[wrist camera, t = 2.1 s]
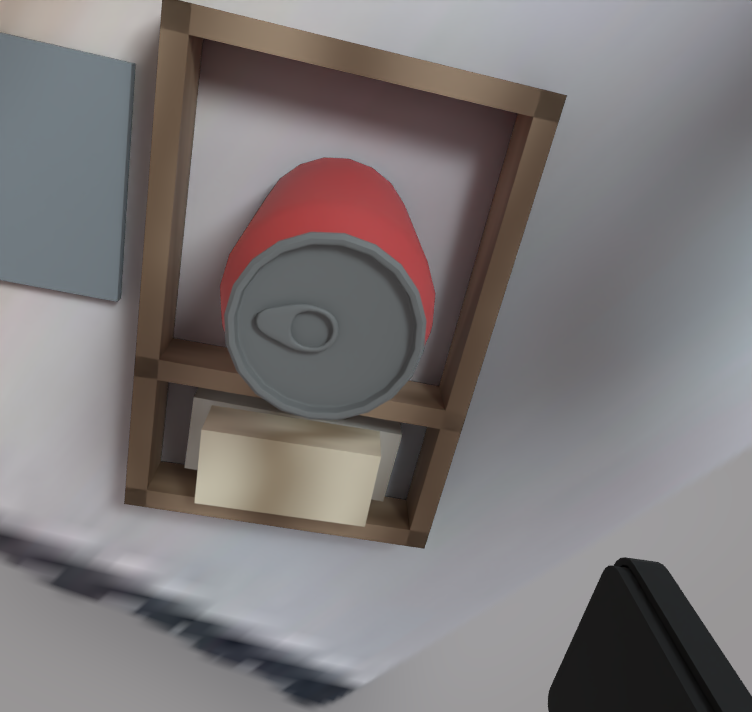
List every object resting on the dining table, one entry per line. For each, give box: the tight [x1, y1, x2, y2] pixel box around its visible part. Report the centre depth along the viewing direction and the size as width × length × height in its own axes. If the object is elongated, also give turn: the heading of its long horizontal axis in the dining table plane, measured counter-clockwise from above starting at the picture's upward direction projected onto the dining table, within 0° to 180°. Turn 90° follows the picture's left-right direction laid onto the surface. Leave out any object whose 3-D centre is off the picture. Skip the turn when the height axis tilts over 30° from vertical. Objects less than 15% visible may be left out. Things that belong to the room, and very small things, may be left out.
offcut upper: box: [195, 405, 381, 527], centre depth 30 cm, size 8×4×2 cm, turn 79°
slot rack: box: [124, 0, 567, 548], centre depth 29 cm, size 15×22×2 cm
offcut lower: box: [184, 387, 402, 501], centre depth 32 cm, size 10×4×2 cm, turn 77°
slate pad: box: [0, 32, 136, 302], centre depth 26 cm, size 10×10×1 cm
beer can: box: [220, 158, 435, 420], centre depth 23 cm, size 7×7×12 cm
